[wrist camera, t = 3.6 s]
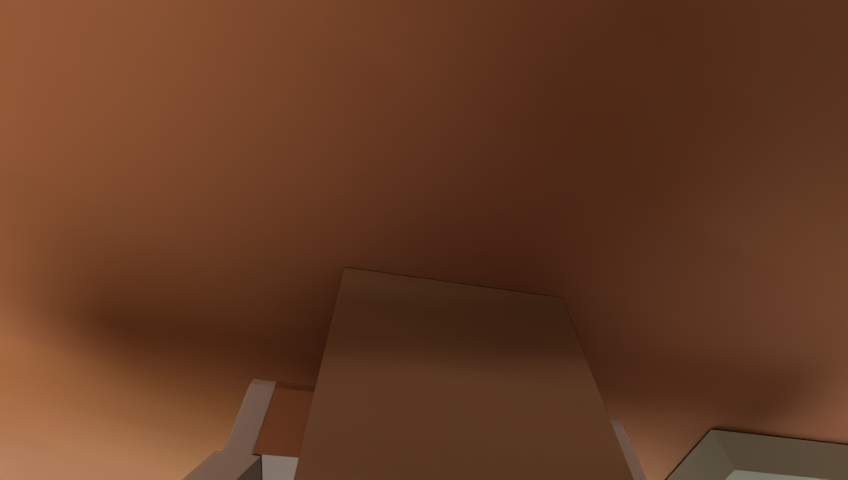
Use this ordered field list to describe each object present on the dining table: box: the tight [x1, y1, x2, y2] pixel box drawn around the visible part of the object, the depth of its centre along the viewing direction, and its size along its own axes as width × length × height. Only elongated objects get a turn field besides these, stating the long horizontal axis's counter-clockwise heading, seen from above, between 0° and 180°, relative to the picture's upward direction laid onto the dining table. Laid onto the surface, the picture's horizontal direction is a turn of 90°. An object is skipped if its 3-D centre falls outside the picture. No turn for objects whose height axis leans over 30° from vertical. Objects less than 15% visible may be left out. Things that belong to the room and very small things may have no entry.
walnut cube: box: [294, 267, 634, 480], centre depth 9 cm, size 5×5×5 cm
